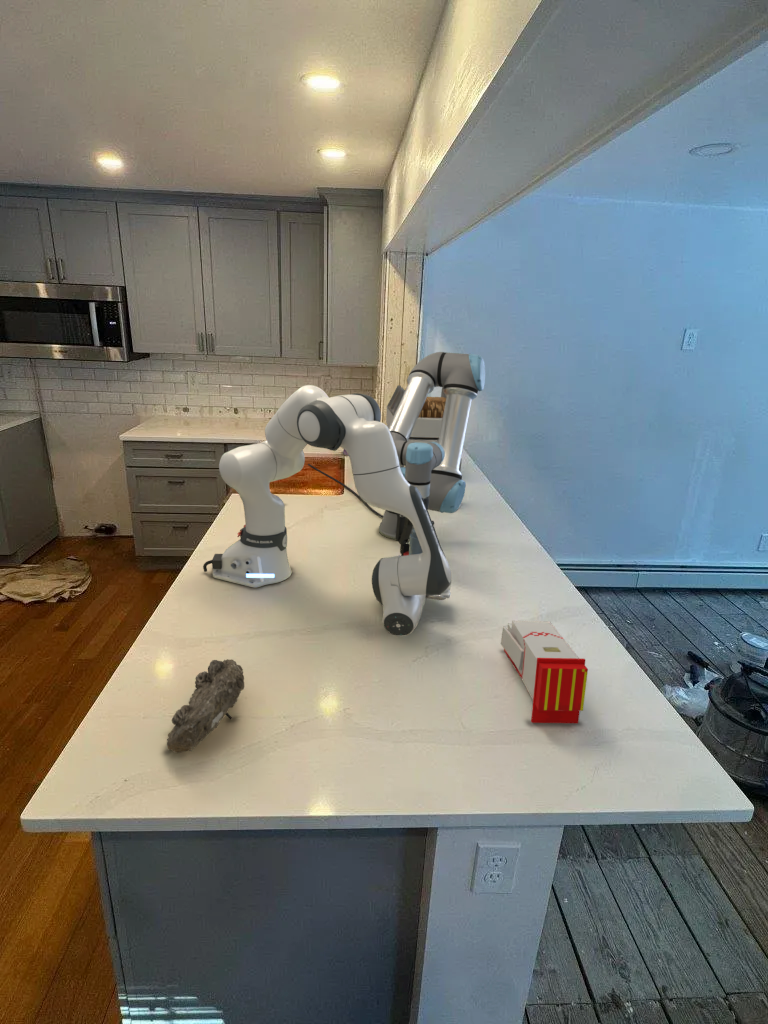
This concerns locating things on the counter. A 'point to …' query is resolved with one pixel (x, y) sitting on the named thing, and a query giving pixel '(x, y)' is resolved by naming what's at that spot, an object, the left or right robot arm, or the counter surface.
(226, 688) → the fossil
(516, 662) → the toy
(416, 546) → the grey cylinder
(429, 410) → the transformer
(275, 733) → the counter surface
